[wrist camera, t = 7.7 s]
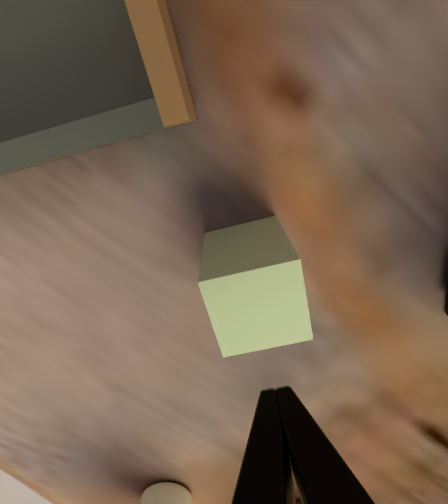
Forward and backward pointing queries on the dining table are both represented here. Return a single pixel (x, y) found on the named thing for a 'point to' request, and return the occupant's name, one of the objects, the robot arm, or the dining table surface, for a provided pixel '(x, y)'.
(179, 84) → the low planter box
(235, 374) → the dining table surface
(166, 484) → the drinking glass
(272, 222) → the sage block
